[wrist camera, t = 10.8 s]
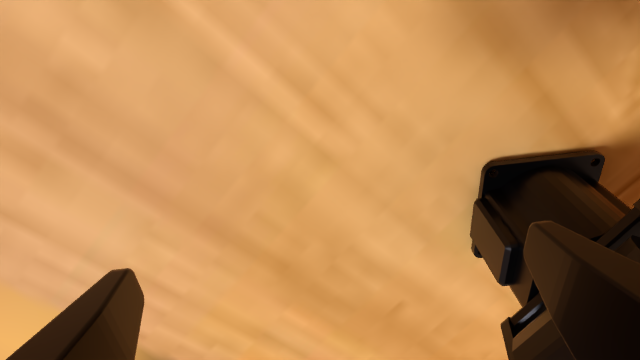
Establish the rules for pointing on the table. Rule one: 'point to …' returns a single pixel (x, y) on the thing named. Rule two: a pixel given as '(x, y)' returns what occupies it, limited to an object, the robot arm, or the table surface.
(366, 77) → the table surface
